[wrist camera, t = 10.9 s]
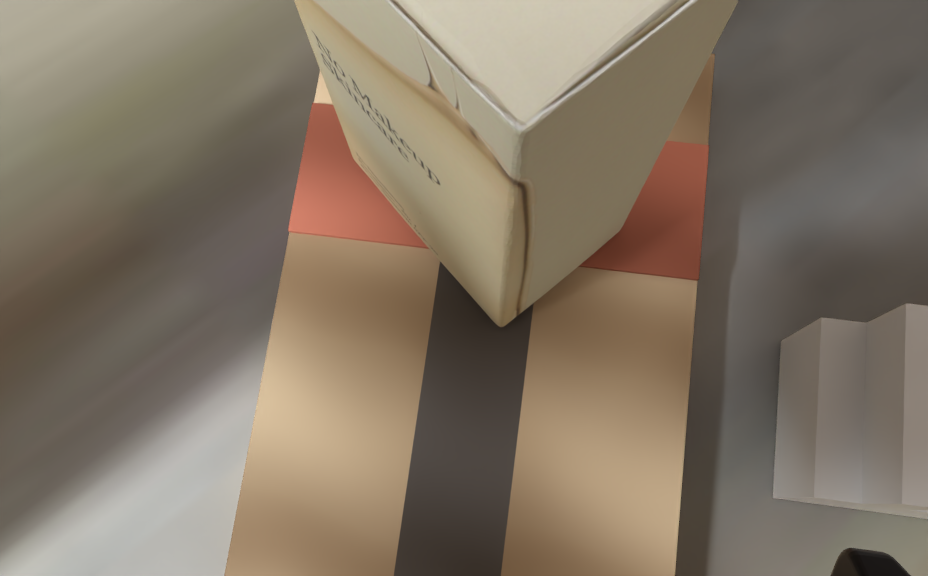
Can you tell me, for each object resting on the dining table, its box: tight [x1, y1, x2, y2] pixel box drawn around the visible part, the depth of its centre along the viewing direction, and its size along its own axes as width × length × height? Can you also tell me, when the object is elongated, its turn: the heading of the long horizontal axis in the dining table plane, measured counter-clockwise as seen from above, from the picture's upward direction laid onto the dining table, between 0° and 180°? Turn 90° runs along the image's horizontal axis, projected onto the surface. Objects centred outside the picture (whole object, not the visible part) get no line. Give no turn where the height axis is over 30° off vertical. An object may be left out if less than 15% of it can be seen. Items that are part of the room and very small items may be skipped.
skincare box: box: [294, 0, 739, 327], centre depth 17 cm, size 6×4×12 cm
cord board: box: [224, 54, 715, 576], centre depth 22 cm, size 17×10×1 cm, turn 172°
